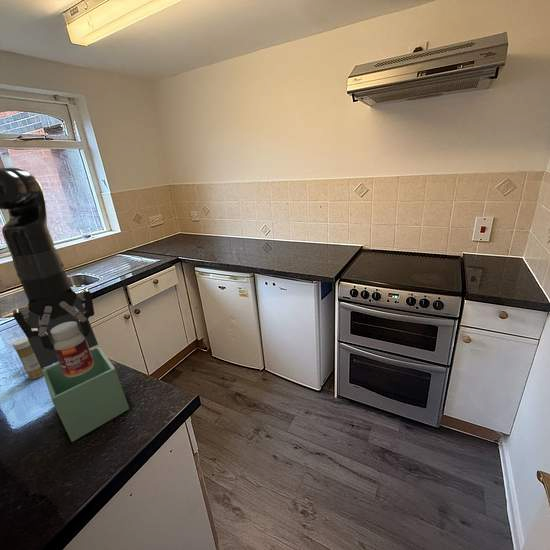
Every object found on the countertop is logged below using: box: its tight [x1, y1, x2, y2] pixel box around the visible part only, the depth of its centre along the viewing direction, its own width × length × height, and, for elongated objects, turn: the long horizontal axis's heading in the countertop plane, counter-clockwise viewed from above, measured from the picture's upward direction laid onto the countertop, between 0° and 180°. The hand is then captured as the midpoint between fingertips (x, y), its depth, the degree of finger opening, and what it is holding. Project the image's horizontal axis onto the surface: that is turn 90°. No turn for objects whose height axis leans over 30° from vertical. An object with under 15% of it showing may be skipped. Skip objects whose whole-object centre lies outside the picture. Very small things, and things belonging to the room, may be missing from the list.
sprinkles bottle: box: [12, 336, 45, 380], centre depth 95 cm, size 5×5×13 cm
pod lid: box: [18, 290, 99, 369], centre depth 80 cm, size 16×14×1 cm
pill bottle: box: [50, 321, 94, 377], centre depth 67 cm, size 6×6×11 cm
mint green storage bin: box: [42, 345, 130, 443], centre depth 79 cm, size 16×14×13 cm
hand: (69, 341), depth 67 cm, fingers closed on pill bottle, 6 cm apart
